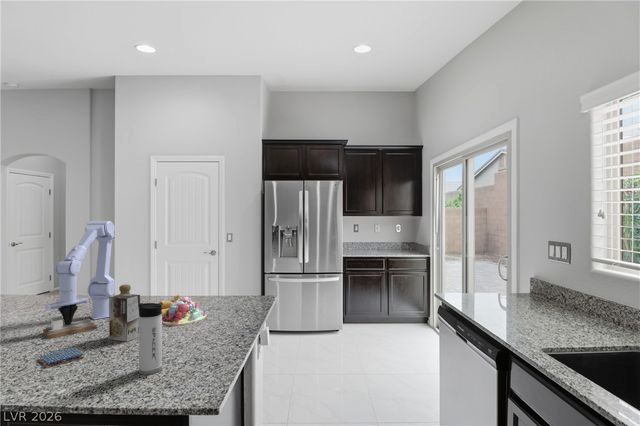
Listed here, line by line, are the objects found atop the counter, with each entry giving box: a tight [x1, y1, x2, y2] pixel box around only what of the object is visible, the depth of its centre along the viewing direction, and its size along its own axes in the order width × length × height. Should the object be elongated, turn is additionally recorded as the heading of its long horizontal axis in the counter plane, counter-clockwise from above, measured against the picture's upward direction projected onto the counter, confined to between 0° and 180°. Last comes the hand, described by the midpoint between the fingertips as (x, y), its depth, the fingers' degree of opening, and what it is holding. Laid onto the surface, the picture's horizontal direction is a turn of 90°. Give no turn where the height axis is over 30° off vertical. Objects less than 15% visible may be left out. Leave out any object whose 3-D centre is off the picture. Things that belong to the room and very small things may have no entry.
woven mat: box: [38, 346, 85, 368], centre depth 115 cm, size 10×11×2 cm
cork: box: [118, 284, 132, 294], centre depth 182 cm, size 6×6×11 cm
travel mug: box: [138, 302, 163, 375], centre depth 107 cm, size 6×7×20 cm
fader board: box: [42, 318, 98, 340], centre depth 143 cm, size 16×10×2 cm, turn 137°
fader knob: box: [50, 315, 64, 330], centre depth 140 cm, size 3×4×4 cm
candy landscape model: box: [157, 294, 208, 327], centre depth 163 cm, size 25×24×9 cm
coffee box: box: [108, 293, 141, 342], centre depth 135 cm, size 9×6×16 cm
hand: (67, 324), depth 142 cm, fingers closed
